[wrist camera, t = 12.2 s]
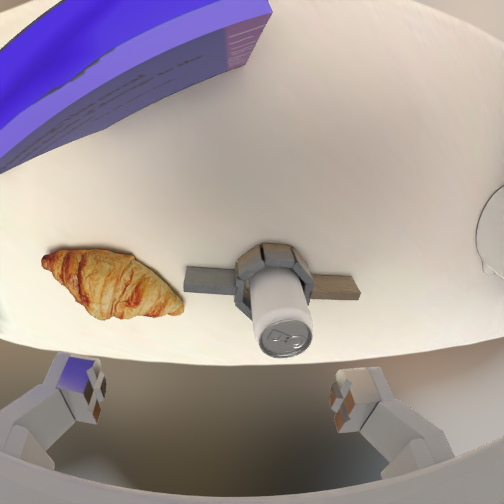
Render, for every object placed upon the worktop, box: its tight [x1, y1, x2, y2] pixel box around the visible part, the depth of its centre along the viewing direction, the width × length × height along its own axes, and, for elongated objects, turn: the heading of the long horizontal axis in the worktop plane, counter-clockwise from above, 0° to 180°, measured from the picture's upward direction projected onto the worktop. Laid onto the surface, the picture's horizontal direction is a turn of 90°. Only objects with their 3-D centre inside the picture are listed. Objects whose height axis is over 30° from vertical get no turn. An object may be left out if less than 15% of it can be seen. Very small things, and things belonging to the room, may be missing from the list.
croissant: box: [41, 249, 184, 320], centre depth 39 cm, size 21×10×8 cm, turn 67°
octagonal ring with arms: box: [235, 243, 361, 301], centre depth 42 cm, size 16×10×4 cm, turn 83°
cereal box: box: [0, 0, 273, 174], centre depth 20 cm, size 17×5×24 cm, turn 111°
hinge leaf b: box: [184, 250, 314, 321], centre depth 41 cm, size 16×10×4 cm, turn 83°
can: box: [249, 266, 313, 358], centre depth 38 cm, size 6×6×12 cm
